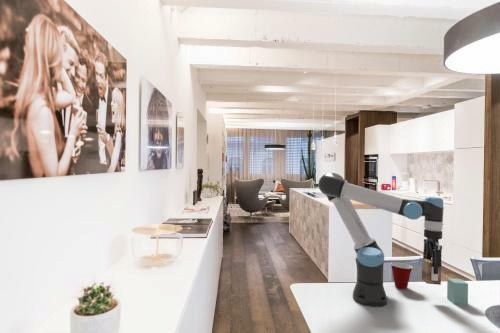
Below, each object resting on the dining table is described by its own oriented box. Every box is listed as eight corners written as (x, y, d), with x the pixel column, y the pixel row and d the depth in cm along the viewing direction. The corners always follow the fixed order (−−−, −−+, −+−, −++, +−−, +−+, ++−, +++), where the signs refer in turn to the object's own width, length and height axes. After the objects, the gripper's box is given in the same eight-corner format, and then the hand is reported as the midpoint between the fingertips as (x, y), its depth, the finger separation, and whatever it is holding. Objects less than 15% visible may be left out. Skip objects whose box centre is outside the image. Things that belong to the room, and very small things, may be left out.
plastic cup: (416, 288, 159) (417, 265, 160) (405, 292, 153) (406, 268, 153) (396, 281, 168) (397, 260, 169) (385, 285, 162) (386, 263, 162)
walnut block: (427, 283, 143) (427, 262, 143) (421, 279, 148) (422, 258, 149) (440, 284, 142) (441, 263, 142) (434, 280, 148) (435, 259, 148)
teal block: (453, 304, 141) (453, 282, 141) (447, 299, 147) (447, 278, 147) (467, 305, 140) (468, 283, 140) (460, 299, 146) (460, 279, 146)
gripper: (451, 234, 135) (449, 286, 135) (432, 226, 154) (430, 271, 154) (433, 233, 136) (431, 284, 136) (416, 225, 155) (414, 270, 155)
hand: (431, 277), depth 145 cm, fingers closed on walnut block, 6 cm apart
